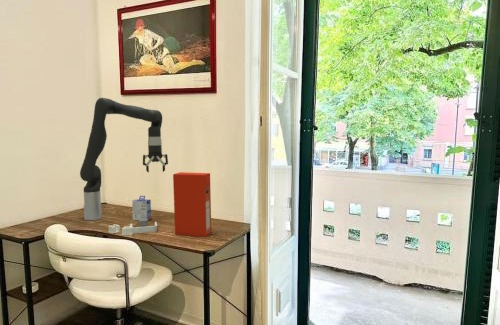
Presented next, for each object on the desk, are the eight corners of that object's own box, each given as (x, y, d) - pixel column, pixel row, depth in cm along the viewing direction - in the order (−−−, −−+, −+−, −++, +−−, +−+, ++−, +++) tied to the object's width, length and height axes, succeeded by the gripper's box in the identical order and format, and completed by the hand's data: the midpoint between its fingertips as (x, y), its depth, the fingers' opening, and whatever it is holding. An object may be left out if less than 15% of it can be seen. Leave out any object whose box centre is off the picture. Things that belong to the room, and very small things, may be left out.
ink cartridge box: (151, 218, 205) (151, 195, 204) (147, 221, 200) (146, 197, 198) (137, 218, 207) (136, 195, 206) (132, 220, 202) (131, 196, 200)
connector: (139, 232, 178) (139, 221, 178) (140, 226, 189) (139, 216, 188) (147, 231, 179) (147, 220, 179) (147, 225, 190) (147, 215, 189)
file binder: (205, 237, 169) (204, 175, 166) (174, 234, 173) (173, 174, 170) (211, 232, 177) (210, 173, 173) (181, 230, 181) (180, 172, 178)
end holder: (129, 233, 175) (129, 228, 175) (130, 229, 183) (130, 223, 183) (157, 231, 179) (157, 226, 179) (156, 226, 188) (156, 221, 187)
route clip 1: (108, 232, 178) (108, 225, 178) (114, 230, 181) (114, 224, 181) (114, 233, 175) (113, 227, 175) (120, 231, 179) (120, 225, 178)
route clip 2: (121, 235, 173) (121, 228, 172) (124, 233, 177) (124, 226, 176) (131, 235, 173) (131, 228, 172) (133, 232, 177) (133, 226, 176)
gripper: (167, 144, 199) (167, 170, 201) (142, 144, 195) (143, 171, 196) (167, 144, 192) (168, 172, 193) (141, 145, 188) (142, 173, 189)
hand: (155, 172), depth 195 cm, fingers open, 8 cm apart
